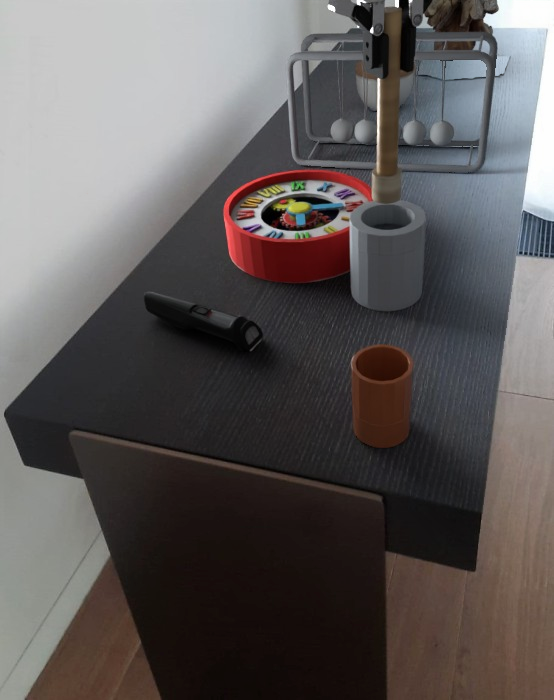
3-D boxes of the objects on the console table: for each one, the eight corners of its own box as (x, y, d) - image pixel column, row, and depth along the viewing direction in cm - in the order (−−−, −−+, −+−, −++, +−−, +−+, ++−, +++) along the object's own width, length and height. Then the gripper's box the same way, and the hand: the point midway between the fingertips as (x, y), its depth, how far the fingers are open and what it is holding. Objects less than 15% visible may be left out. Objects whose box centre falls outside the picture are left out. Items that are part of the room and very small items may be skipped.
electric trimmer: (161, 303, 87) (155, 282, 85) (265, 336, 80) (262, 313, 78) (141, 320, 84) (135, 298, 82) (247, 355, 77) (243, 332, 75)
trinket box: (362, 120, 127) (362, 67, 121) (350, 101, 135) (349, 50, 129) (420, 113, 127) (423, 59, 121) (405, 93, 136) (406, 42, 130)
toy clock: (226, 176, 100) (367, 163, 99) (231, 213, 103) (367, 201, 103) (219, 248, 84) (386, 234, 83) (225, 289, 88) (386, 276, 87)
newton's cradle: (487, 146, 114) (499, 30, 103) (483, 175, 106) (496, 52, 95) (307, 141, 122) (300, 32, 111) (291, 167, 114) (283, 53, 103)
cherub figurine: (513, 54, 148) (525, -41, 137) (500, 83, 136) (511, -20, 125) (430, 51, 155) (434, -40, 143) (409, 79, 142) (413, -19, 131)
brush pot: (421, 434, 66) (425, 369, 61) (372, 456, 64) (372, 391, 59) (389, 400, 70) (390, 337, 65) (342, 420, 68) (340, 357, 63)
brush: (407, 198, 76) (414, 9, 64) (382, 206, 75) (384, 16, 63) (390, 187, 78) (394, 3, 66) (366, 195, 77) (365, 9, 65)
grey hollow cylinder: (436, 296, 83) (441, 221, 77) (375, 319, 80) (375, 243, 74) (396, 265, 89) (397, 192, 83) (338, 285, 86) (335, 212, 80)
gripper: (330, -148, 52) (337, 101, 63) (503, -173, 56) (480, 63, 68) (284, -151, 57) (298, 80, 69) (445, -173, 62) (433, 46, 73)
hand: (389, 70), depth 68 cm, fingers closed on brush, 2 cm apart
